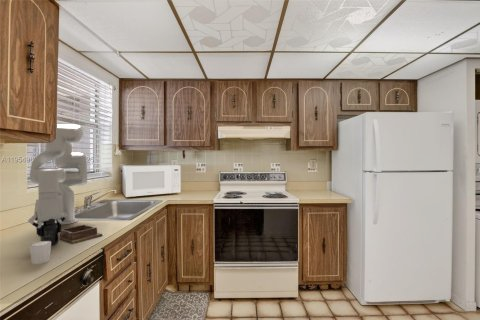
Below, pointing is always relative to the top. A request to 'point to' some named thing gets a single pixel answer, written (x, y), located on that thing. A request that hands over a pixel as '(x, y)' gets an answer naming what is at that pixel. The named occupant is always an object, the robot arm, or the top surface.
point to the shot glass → (40, 252)
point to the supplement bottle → (50, 231)
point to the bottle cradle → (78, 233)
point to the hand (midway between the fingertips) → (49, 233)
